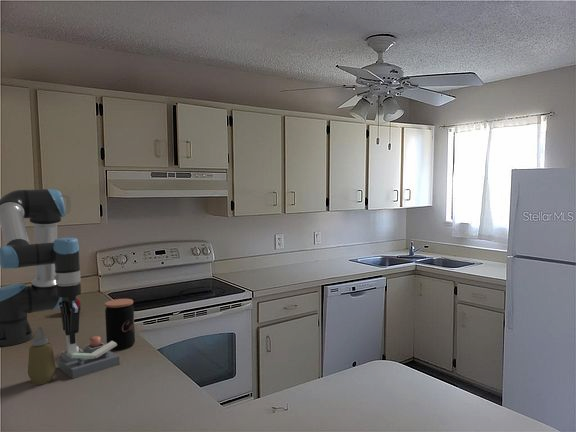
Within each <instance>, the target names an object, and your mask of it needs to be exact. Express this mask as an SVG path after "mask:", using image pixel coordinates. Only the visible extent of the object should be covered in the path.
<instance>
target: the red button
mask: <svg viewBox="0 0 576 432" xmlns="http://www.w3.org/2000/svg"><path fill="white" fill-rule="evenodd" d="M101 342H102V337H101V336H100V335H94V336H90V337H89V344H90V347H91V348H95V347H99V346H101Z"/></svg>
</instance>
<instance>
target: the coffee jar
mask: <svg viewBox="0 0 576 432" xmlns="http://www.w3.org/2000/svg"><path fill="white" fill-rule="evenodd" d="M133 304H134V300H133V299H131V298H116V299H112V300H108V301H106V302H105V303H104V306H105V310H104V315H105V317H104V318H105V334H106V335H105V337H106V344H107V343H109V342H111V341H113V342H115V343H117V346H115V347H114V348H112V349H111V350H110V351H121V350H126V349H129V348H132V347H133V346H134V344H135V342H136V335H135V333H136V330H135V309H134V305H133Z"/></svg>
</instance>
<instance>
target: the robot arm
mask: <svg viewBox="0 0 576 432" xmlns="http://www.w3.org/2000/svg"><path fill="white" fill-rule="evenodd" d="M65 216H66V206H65V201H64V197H63V194H62V193H61V191H60V190H58V189H49V188H46V189H45V188H43V189H42V188H41V189H15V190H12V191H10V192H7V193H6V194H4V195H3V196H2V197H0V229H1V235H2V240H3V245H4V246H0V268H2V269H18V268H19V269H21V268H27V267H34V274H35V277H34V278H33V279H32V280H31V282H30V283H31V285H28V286H27V285H26V284H25V283H24V282H19V283H13V284H8V285H5V286H4V285H3V286H2V287H0V347H8V346H14V345H15V346H16V345H19V344H23V343H26V342H28V341H30V340H33V339H34V331H33V329H32V327H31V325H30V323H29V321H28V314H34V313H39V312H46V311H53V310H56V309H59V310H60V316H61V325H62V330H63V331H64V333H65V338H66V339H65V341H66V344H65V345H66V350H67V353H68V354H71V353H74V352H77V346H78V345H77V334H78V333H79V331H80V312H81V306H78V307H77V305H78V304H77V300H76V298H77V297H78V296H80V295H81V294H82V285H81V281H82V280H81V269H80V268H81V267H80V245H79V239H78V238H76V237H62V238H61V237H60V238H58V225H59V224H60V223H61V222H62V218H63V217H65ZM24 219H29V223H31V224H32V225H33V228H34V229H33V231H34V232H33V234H34V236H33V237H34V239H33V241H34V243H31V242H30V239H29V235H28V233H27V228H26V224H25V221H24Z"/></svg>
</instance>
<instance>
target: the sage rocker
mask: <svg viewBox="0 0 576 432" xmlns="http://www.w3.org/2000/svg"><path fill="white" fill-rule="evenodd" d="M67 356H69V357H70V358H79V359H80V360H82V361H83V360H84V358H87V359H94V358H95V355H93V354H91V353H71V354H68V355H67Z"/></svg>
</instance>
